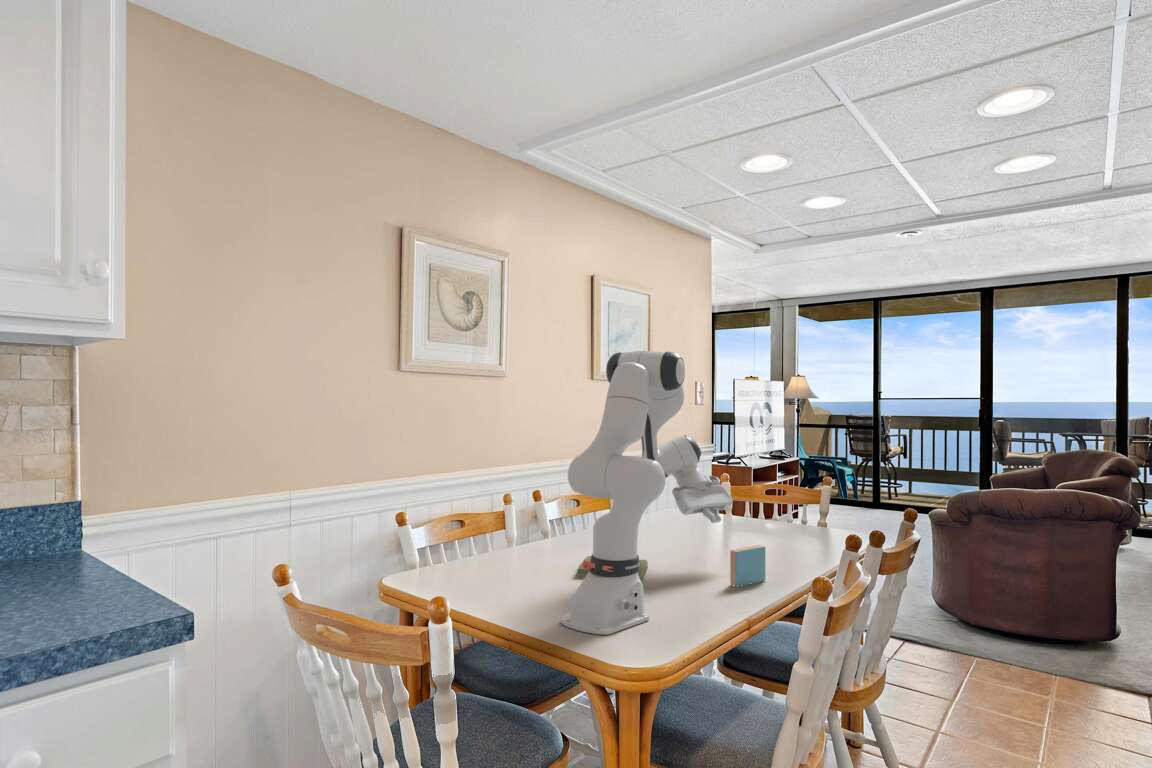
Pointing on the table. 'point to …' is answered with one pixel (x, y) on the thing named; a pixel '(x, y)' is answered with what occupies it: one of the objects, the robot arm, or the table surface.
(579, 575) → the decorative tile
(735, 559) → the glazed tile
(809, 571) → the table surface
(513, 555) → the table surface
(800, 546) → the table surface
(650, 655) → the table surface
